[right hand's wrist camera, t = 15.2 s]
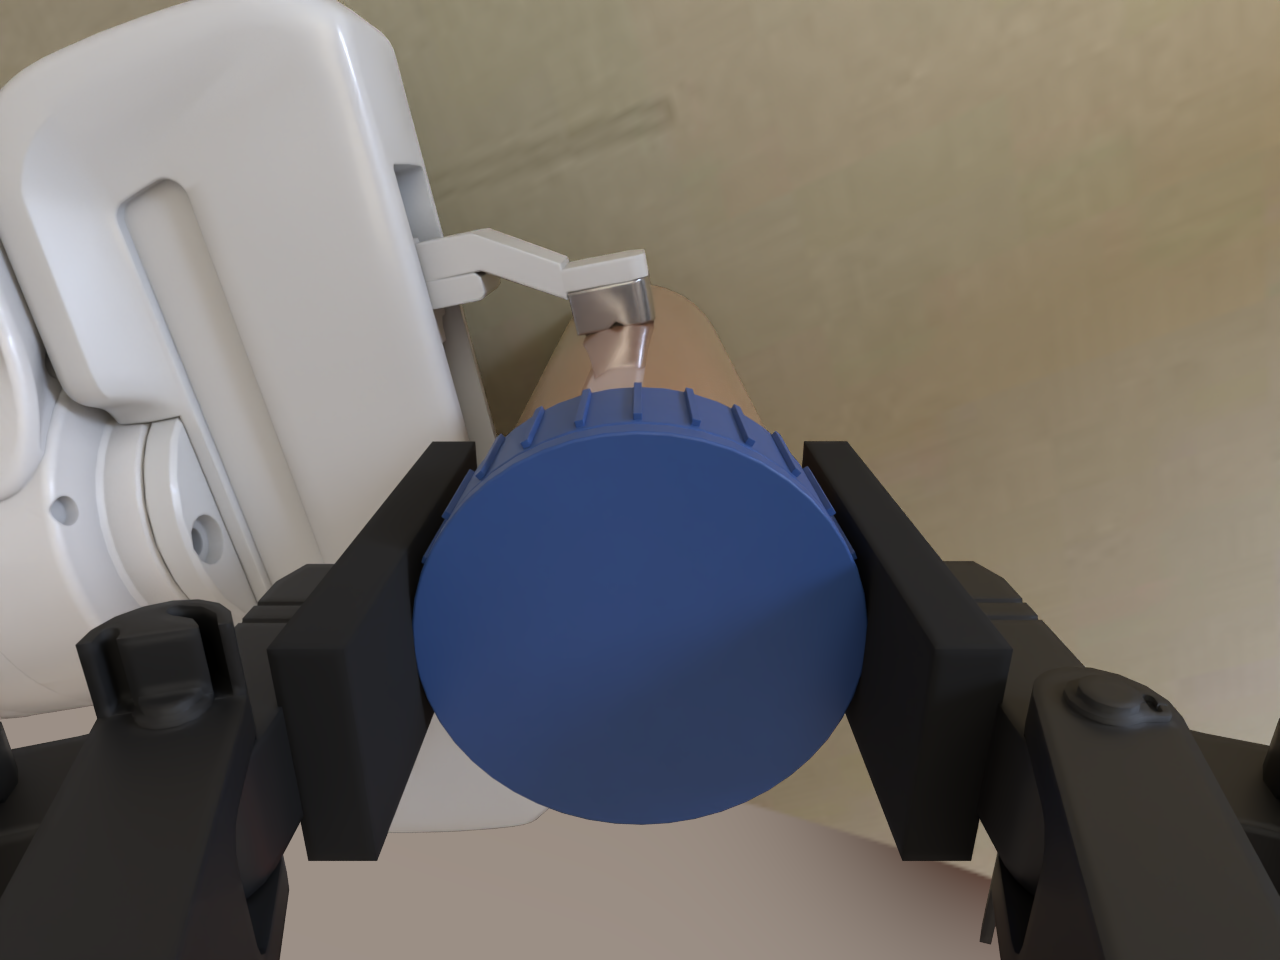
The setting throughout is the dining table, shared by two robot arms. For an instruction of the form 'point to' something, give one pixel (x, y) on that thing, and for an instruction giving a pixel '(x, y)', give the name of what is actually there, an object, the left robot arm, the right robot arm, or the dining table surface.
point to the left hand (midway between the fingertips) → (675, 421)
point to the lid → (639, 609)
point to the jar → (644, 359)
